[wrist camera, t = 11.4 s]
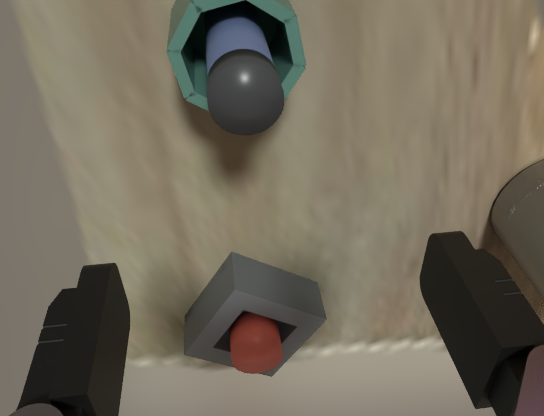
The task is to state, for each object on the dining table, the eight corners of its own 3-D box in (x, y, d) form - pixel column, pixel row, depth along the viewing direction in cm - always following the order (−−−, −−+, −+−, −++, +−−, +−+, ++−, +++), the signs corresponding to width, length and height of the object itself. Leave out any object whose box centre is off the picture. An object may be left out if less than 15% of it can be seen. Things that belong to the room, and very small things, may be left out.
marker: (269, 10, 28) (299, 86, 20) (241, 57, 29) (259, 146, 21) (219, -20, 26) (231, 49, 19) (193, 31, 28) (194, 115, 20)
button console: (317, 282, 43) (326, 319, 40) (266, 339, 47) (271, 376, 44) (231, 251, 39) (234, 289, 36) (184, 315, 43) (184, 354, 40)
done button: (287, 318, 41) (292, 349, 38) (261, 346, 43) (265, 377, 40) (244, 305, 39) (247, 336, 37) (220, 335, 41) (222, 366, 39)
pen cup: (306, -3, 28) (327, 34, 23) (250, 87, 31) (260, 136, 26) (207, -66, 26) (210, -39, 21) (157, 39, 29) (150, 83, 24)
